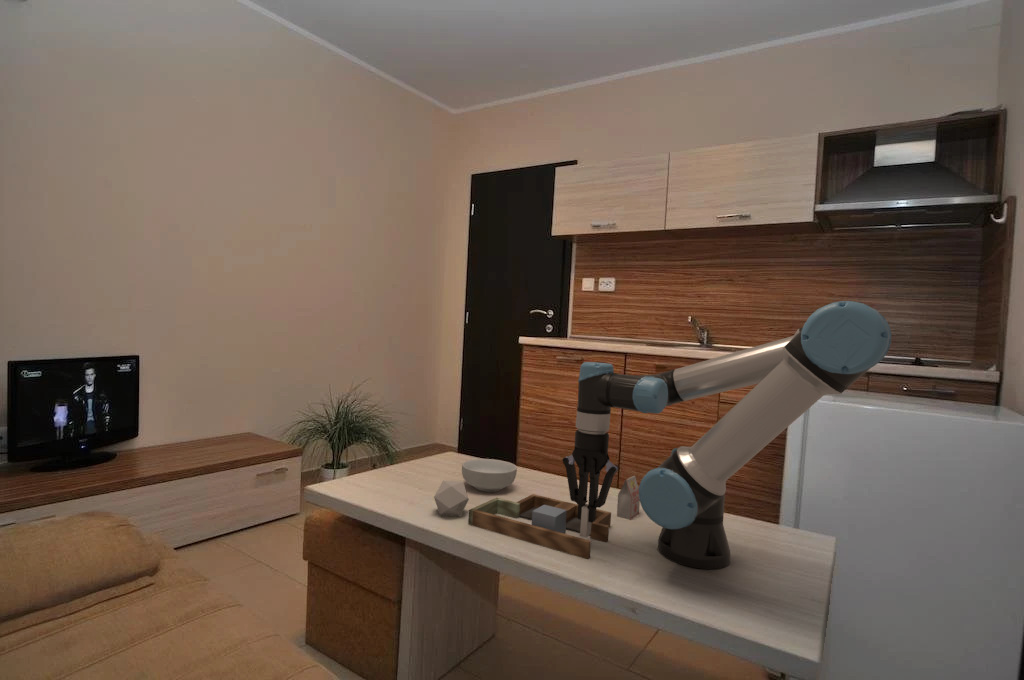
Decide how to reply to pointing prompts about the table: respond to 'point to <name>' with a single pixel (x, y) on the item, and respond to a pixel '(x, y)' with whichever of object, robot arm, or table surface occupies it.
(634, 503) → the gable top carton
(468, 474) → the cereal bowl
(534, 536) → the wooden compartment tray
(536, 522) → the slate block
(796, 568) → the table surface
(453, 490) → the die
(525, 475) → the table surface
